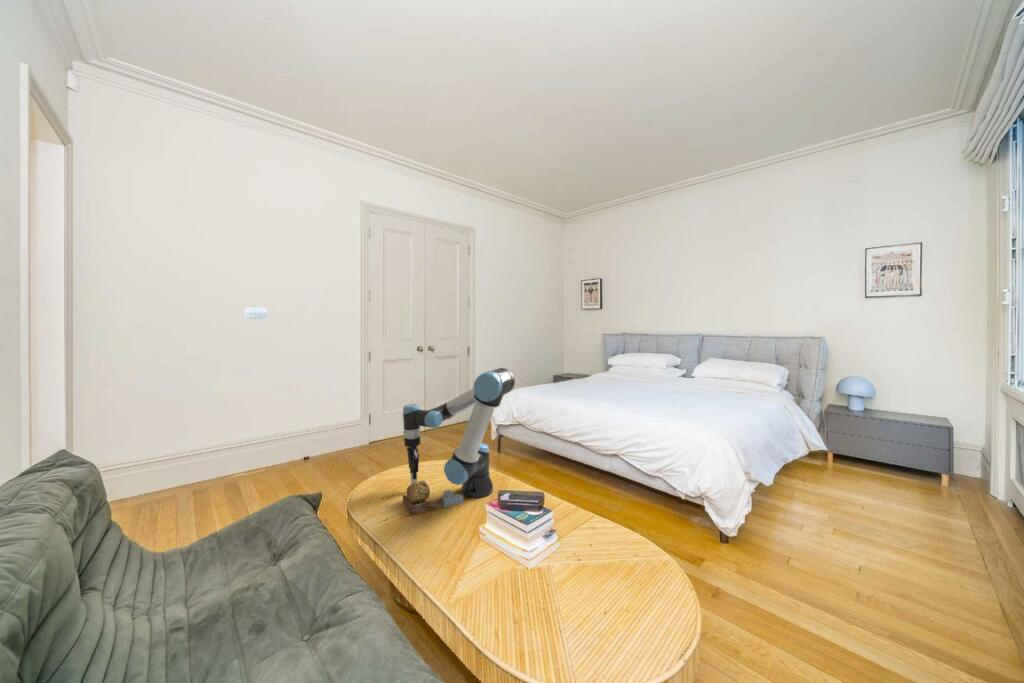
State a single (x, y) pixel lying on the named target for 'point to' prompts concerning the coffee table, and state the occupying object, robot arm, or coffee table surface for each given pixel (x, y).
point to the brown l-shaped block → (422, 505)
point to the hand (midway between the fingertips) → (414, 484)
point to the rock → (418, 492)
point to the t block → (452, 499)
